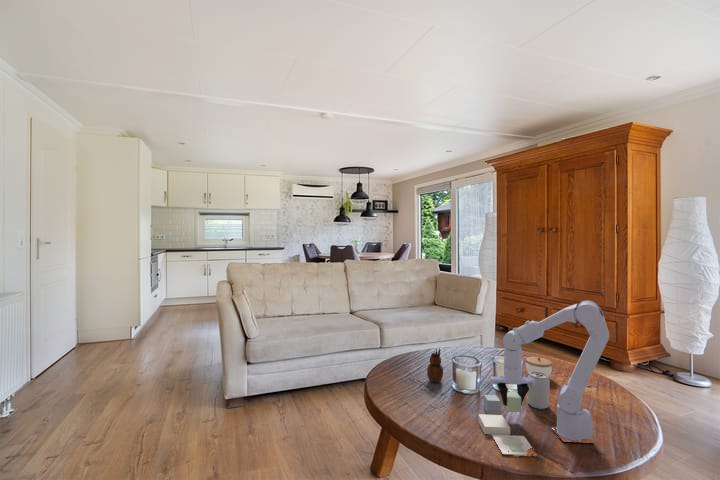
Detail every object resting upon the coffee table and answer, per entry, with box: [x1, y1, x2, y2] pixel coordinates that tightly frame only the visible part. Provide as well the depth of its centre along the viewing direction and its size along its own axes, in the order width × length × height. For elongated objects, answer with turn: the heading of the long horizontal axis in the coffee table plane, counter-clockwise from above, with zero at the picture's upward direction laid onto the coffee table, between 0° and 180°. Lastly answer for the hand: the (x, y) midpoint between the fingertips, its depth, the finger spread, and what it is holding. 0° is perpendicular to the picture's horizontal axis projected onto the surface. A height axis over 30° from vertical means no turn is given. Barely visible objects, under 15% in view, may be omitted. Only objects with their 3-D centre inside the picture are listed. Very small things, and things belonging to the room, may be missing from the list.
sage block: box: [502, 391, 522, 413], centre depth 125 cm, size 4×4×5 cm
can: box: [526, 372, 551, 410], centre depth 136 cm, size 8×8×12 cm
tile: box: [491, 434, 533, 455], centre depth 110 cm, size 10×10×1 cm
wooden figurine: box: [426, 347, 444, 384], centre depth 158 cm, size 7×6×15 cm
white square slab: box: [477, 413, 511, 436], centre depth 120 cm, size 8×8×3 cm
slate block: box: [483, 394, 501, 415], centre depth 132 cm, size 4×4×5 cm
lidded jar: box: [525, 356, 553, 378], centre depth 164 cm, size 11×11×9 cm
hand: (512, 404), depth 125 cm, fingers closed on sage block, 4 cm apart
